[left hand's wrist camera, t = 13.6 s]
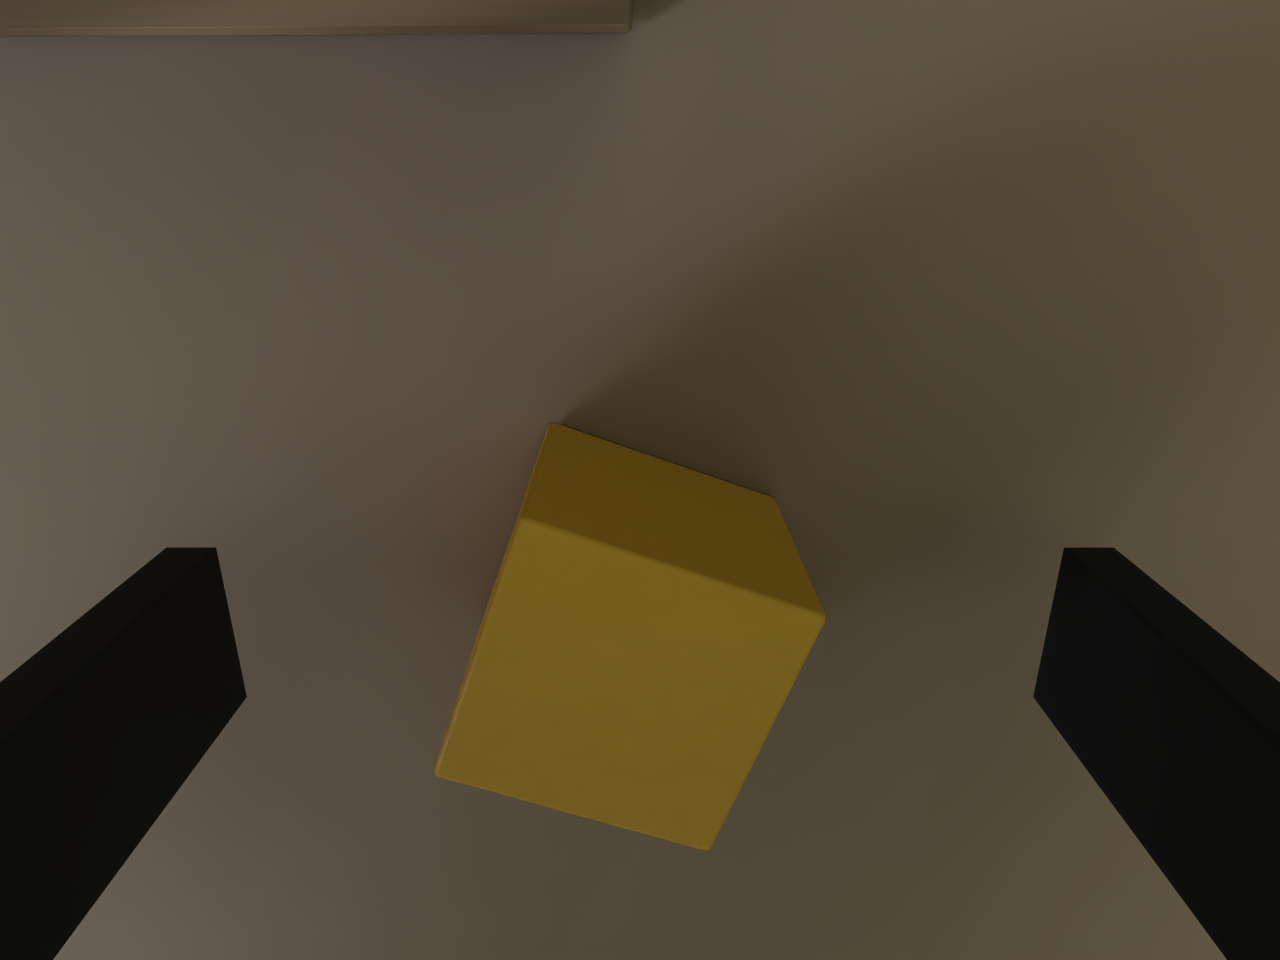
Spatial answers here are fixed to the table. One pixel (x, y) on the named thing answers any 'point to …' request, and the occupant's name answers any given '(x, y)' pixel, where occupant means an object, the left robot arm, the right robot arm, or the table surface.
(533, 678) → the block
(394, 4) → the chest
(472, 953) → the table surface
